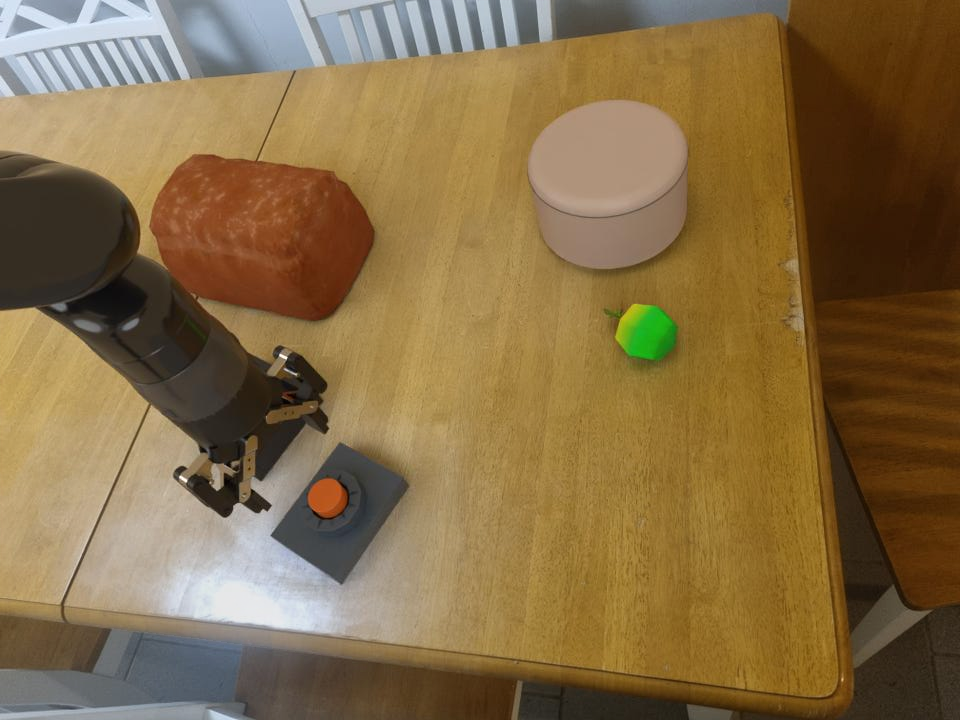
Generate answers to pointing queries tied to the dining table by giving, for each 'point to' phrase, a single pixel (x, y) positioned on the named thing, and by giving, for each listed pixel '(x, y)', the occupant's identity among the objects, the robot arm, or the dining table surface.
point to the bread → (261, 234)
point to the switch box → (342, 513)
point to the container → (610, 183)
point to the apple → (645, 331)
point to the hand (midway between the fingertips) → (292, 465)
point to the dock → (284, 433)
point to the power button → (327, 498)
